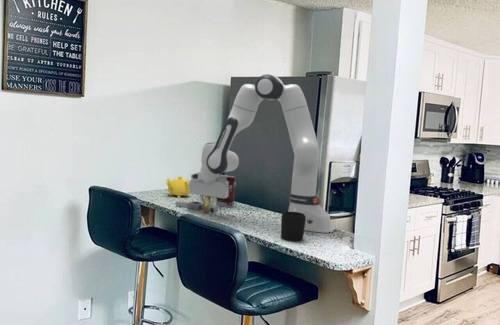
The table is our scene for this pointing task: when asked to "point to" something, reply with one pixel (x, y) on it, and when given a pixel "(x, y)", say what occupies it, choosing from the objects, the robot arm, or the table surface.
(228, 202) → the supplement box
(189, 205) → the chain joint
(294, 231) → the pen holder
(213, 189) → the robot arm
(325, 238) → the table surface
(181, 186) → the teapot
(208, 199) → the pin
